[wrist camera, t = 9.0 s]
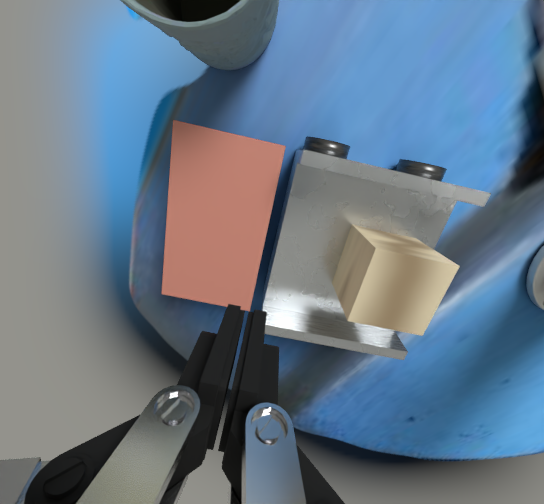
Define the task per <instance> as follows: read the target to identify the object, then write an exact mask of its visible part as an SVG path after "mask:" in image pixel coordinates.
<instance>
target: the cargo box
mask: <svg viewBox="0 0 544 504" xmlns="http://www.w3.org/2000/svg"><path fill="white" fill-rule="evenodd" d="M459 267H460V266H458V265H457V264H455V263H454V262H452V261H451V260H449V259H447V258H446V257H444V256H443V255H441V254H440V253H438V252H436V251H435V250H433V249H432V248H430V247H429V246H427V245H425V244H424V243H422V242H421V241H419V240H418V239H416V238H412V237H407V236H403V235H398V234H394V233H389V232H385V231H380V230H375V229H371V228H366V227H362V226H357V225H353V224H352V226H351V228H350V231H349V234H348V237H347V240H346V243H345V246H344V249H343V252H342V255H341V258H340V261H339V264H338V266H337V269H336V272H335V275H334V278H333V281H332V284H333V287H334V289H335V292H336V294H337V297H338V299H339V302H340V304H341V306H342V309H343V311H344V314H345V316H346V319H347V321H350V322H355V323H360V324H365V325H371V326H376V327H381V328H386V329H391V330H396V331H401V332H406V333H411V334H416V335H422V336H423V334H424V332H425V330H426V328H427V326H428V324H429V323H430V321H431V319H432V317H433V315H434V313H435V311H436V309H437V308H438V306H439V304H440V302H441V300H442V298H443V296H444V295H445V293H446V291H447V289H448V287H449V285H450V283H451V281H452V280H453V278H454V276H455V274H456V272H457V270H458V268H459Z"/></svg>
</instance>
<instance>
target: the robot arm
mask: <svg viewBox="0 0 544 504" xmlns="http://www.w3.org/2000/svg"><path fill="white" fill-rule="evenodd" d="M527 291H528V295H529V296H530V298H531V300H532V302H533V303H534V304H535V305H536V306H537V307H539V308H541V309H542V310H544V246H543V247H542V248H541V249H540V250H539V252H538V253H537V255H536V256H535V257H534V259H533V261H532V263H531V265H530V267H529V271H528V275H527ZM240 309H241V306H237V305H232V304H228V306H227V309H226V312H225V314H224V317H223V320H222V323H221V325H220V328H219V331H218V333H217V334H214V333H210V332H205V331H202V332H201V334H200V336H199V338H198V340H197V343H196V345H195V347H194V349H193V351H192V354H191V356H190V358H189V360H188V362H187V365H186V367H185V369H184V371H183V373H182V375H181V377H180V380H179V382H178V384H177V385H176V386H170V387H167V388H165V389H163V390H161V391H160V392H158V393H157V394H156V395H155V396H154V397H153V398H152V400H151V401H150V402H149V404H148V405H147V407H146V408H145V409H144V411H143V412H142V413H141V415H139V416H137V417H135V418H133V419H131V420H129V421H127V422H125V423H123V424H121V425H119V426H117V427H115V428H113V429H111V430H109V431H107V432H105V433H103V434H101V435H99V436H97V437H95V438H93V439H91V440H89V441H87V442H85V443H83V444H81V445H79V446H77V447H75V448H73V449H71V450H69V451H67V452H65V453H63V454H61V455H59V456H58V457H56V458H54V459H53V460H51V461H41V458H40V457H37V458H23V459H9V460H0V504H177V502H178V500H179V498H180V495H181V493H182V491H183V488H184V486H185V484H186V481H187V479H188V475H189V473H191V472H192V471H193V470H195V469H196V468H197V467H199V466H200V465H201V464H202V462H203V460H204V458H205V454H206V451H207V449H211V450H213V448H214V444H215V440H216V435H217V431H218V427H219V423H220V419H221V415H222V411H223V406H224V402H225V398H226V394H227V390H228V385H229V381H230V377H231V373H232V369H233V364H234V360H235V355H236V351H237V346H238V341H239V337H240V332H241V327H242V323H243V318H244V313H245V311H244V310H240ZM266 316H267V312H265V311H260V310H256V309H255V310H254V313H253V312H249V314H248V318H247V323H246V327H245V332H244V337H243V341H242V346H241V350H240V355H239V359H238V364H237V368H236V373H235V377H234V382H233V386H232V391H231V395H230V400H229V404H228V409H227V414H226V418H225V423H224V427H223V431H222V436H221V441H220V445H219V449H218V451H222V452H224V456H223V461H222V469H223V471H224V473H225V475H226V476H227V478H228V480H229V490H228V504H345V503H344V502H343V501H342V500H341V499H340V497H339V496H338V495H337V494H336V492H335V491H334V490H333V489H332V487H331V486H330V485H329V484H328V482H326V480H325V479H324V478H323V476H322V475H321V474H320V473H319V471H318V470H317V469H316V468H315V467H314V465H313V464H312V463H311V462H310V460H309V459H308V458H307V457H306V455H305V454H304V453H303V452H302V451H301V449H300V448H299V447H298V446H297V445H296V442H295V435H294V430H293V425H292V422H291V419H290V417H289V416H288V414H287V413H286V412H285V411H284V410H283V409H282V408H281V407H279V406H278V370H279V347H277V346H272V345H267V344H264V334H265V325H266Z"/></svg>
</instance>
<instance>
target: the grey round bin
mask: <svg viewBox="0 0 544 504" xmlns="http://www.w3.org/2000/svg"><path fill="white" fill-rule="evenodd" d="M121 1H122V2H123V3H124V4H125V5H126V6H128V7H129V8H130V9H131V10H133V11H134V12H136V13H137V14H139V15H140V16H141V17H143V18H144V19H146V20H147V21H149V22H150V23H152V24H153V25H154V26H156V27H158V28H159V29H161V30H162V31H163V32H164V33H166V34H167V35H169V36H170V37H174V38H175V39H177V40H178V41H179V43H180V45H181V46H183V47H184V48H185V49H186V50H188V51H190V52H191V53H193V54H194V55H195V56H196V57H197V58H198V59H200V60H201V61H202V62H204V63H206V64H207V65H209V66H211V67H214V68H216V69H222V70H237V69H240V68H244V67H246V66H248V65H249V64H251V63H253V62H254V61H255V60H256V59H257V58H258V57H259V56H260V55H261V54H262V53H263V52H264V50H265V49H266V47H267V46H268V44H269V42H270V40H271V37H272V34H273V31H274V28H275V24H276V18H277V12H278V4H279V0H121Z"/></svg>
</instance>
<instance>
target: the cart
mask: <svg viewBox="0 0 544 504" xmlns="http://www.w3.org/2000/svg"><path fill="white" fill-rule="evenodd" d="M349 149H350V146H348V145H345V144H341V143H338V142H334V141H329V140H325V139H320V138H314V137H306V140H305V144H304V148H303V150H296V152H295V157H294V161H293V165H292V170H291V174H290V178H289V182H288V187H287V191H286V195H285V200H284V204H283V208H282V212H281V217H280V221H279V225H278V230H277V234H276V238H275V242H274V247H273V251H272V255H271V260H270V264H269V268H268V272H267V277H266V281H265V285H264V290H263V300H262V310H261V311H265V312H267V316H266V325H265V334H269V335H274V336H279V337H284V338H290V339H295V340H300V341H306V342H311V343H316V344H321V345H327V346H332V347H337V348H343V349H348V350H353V351H358V352H364V353H369V354H374V355H380V356H385V357H390V358H396V359H401V360H404V358H405V356H406V355H407V353H408V351H407V350H406V348H405V347H404V345H403V344H402V342H401V341H400V339H399V337H398V336H397V334H396V333H395V330H391V329H386V328H381V327H376V326H371V325H365V324H360V323H355V322H350V321H347V319H346V316H345V314H344V311H343V309H342V306H341V304H340V302H339V299H338V297H337V294H336V292H335V289H334V287H333V284H332V281H333V278H334V275H335V272H336V269H337V266H338V264H339V261H340V258H341V255H342V252H343V249H344V246H345V243H346V240H347V237H348V234H349V231H350V228H351V226H352V224H353V225H357V226H362V227H366V228H371V229H375V230H380V231H385V232H389V233H394V234H398V235H403V236H407V237H412V238H416V239H418V240H419V241H421V242H422V243H424V244H425V245H427V246H429V247H430V248H432V249H433V250H434V248H435V246H436V244H437V241H438V239H439V237H440V235H441V233H442V231H443V229H444V227H445V225H446V223H447V221H448V219H449V217H450V214H451V212H452V210H453V208H454V206H455V204H456V202H457V201H461V202H466V203H470V204H474V205H479V206H483V207H484V206H485V204H486V202H487V200H488V198H489V196H490V194H491V193H487V192H483V191H479V190H475V189H470V188H466V187H462V186H457V185H453V184H449V183H445V182H441V181H442V179H443V176H444V174H445V172H446V170H447V169H445V168H442V167H439V166H434V165H430V164H426V163H421V162H415V161H410V160H402V159H400V160H399V163H398V165H397V168H396V171H394V170H389V169H385V168H381V167H376V166H372V165H368V164H364V163H359V162H355V161H351V160H347V155H348V152H349Z"/></svg>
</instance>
